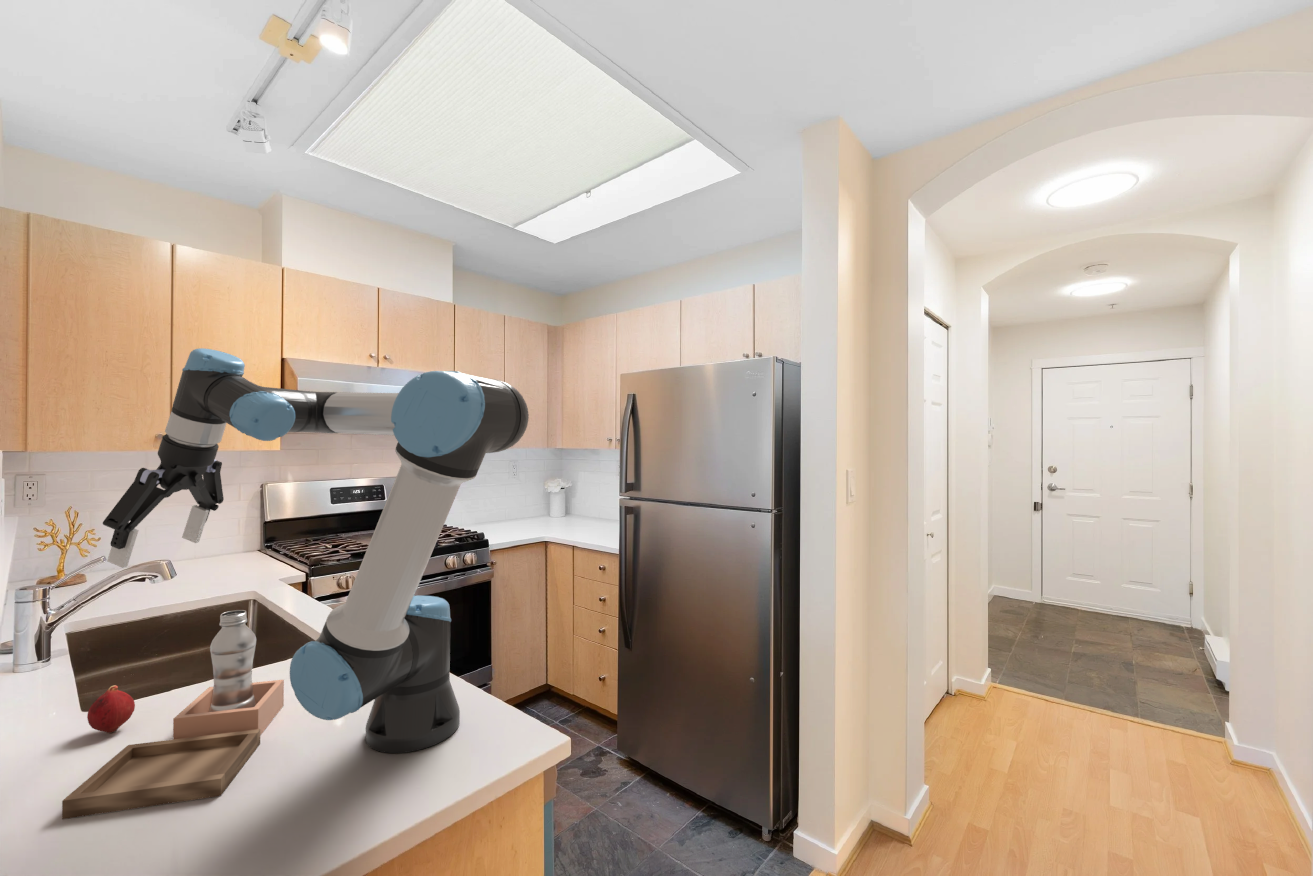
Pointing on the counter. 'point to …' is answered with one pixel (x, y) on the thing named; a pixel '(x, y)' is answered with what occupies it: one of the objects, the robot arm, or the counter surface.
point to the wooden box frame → (230, 713)
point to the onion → (110, 710)
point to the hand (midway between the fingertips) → (156, 551)
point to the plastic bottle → (233, 663)
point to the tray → (163, 773)
